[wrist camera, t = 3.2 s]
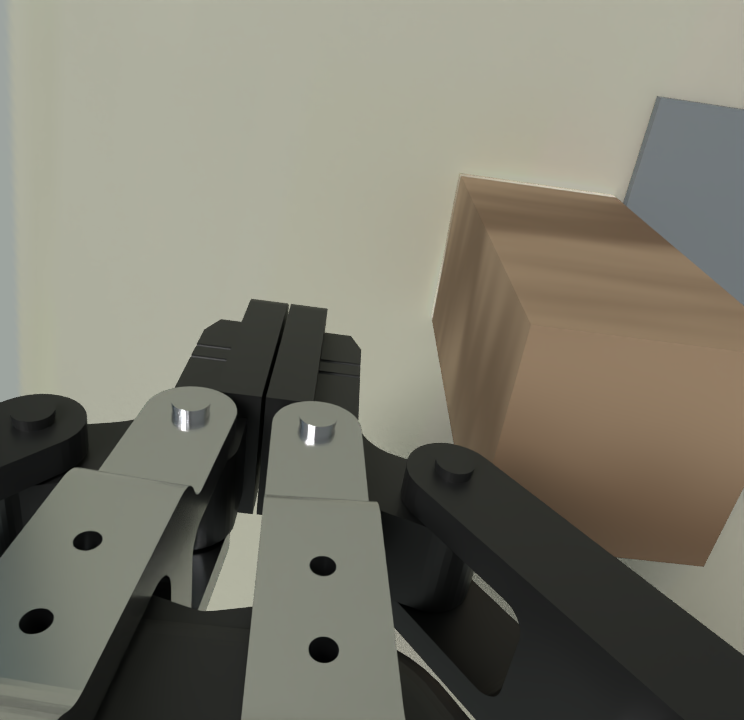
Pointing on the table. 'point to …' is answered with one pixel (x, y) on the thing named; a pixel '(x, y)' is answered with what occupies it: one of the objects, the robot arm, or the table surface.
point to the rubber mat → (695, 185)
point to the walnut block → (592, 365)
